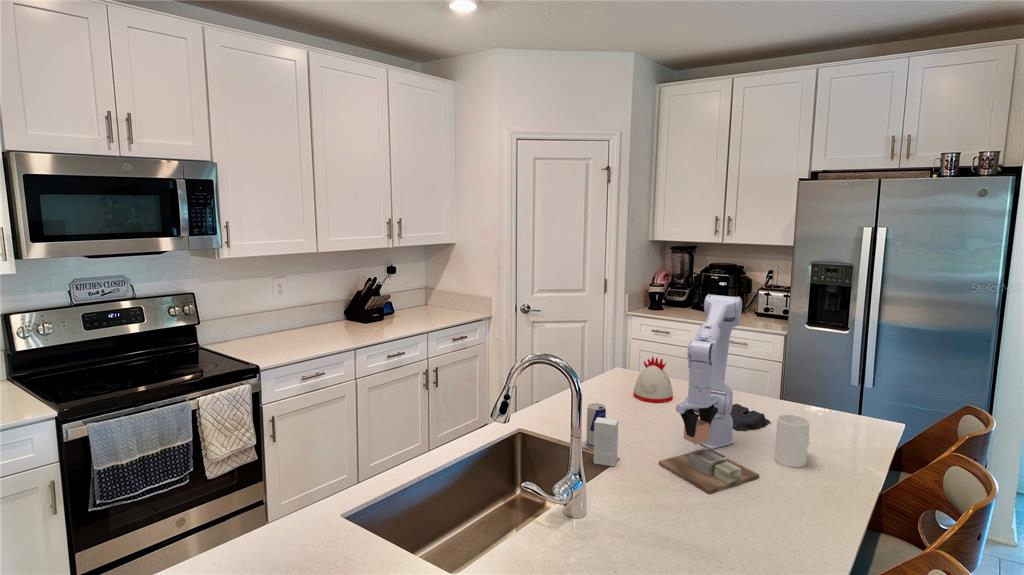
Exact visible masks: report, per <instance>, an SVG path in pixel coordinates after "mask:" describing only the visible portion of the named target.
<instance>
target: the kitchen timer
mask: <svg viewBox="0 0 1024 575" xmlns="http://www.w3.org/2000/svg"><path fill="white" fill-rule="evenodd" d="M663 360H664V359H663V358H661V359H660V361H659V359H658V357H656V358H654V356H651V360H650V359H649V358H648V359H647V363H646V361H645V360H644V361H643V364H644V369H643V370H641V372H640V374H639V375H638V377H637V379H636V383H635V385H634V387H633V388H634V389H633V397H634V398H635V399H637V400H639V401H641V402H643V403H649V404H664V403H669V402H671V401H672V400H673V396H674V394H673V393H674V391H673V387H672V383H671V380H670V377H669V375H668V373H667V372H666V371H665V370H664V368H665V367H666V365H667V362H664V363H663Z"/></svg>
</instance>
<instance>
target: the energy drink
mask: <svg viewBox="0 0 1024 575" xmlns="http://www.w3.org/2000/svg"><path fill="white" fill-rule="evenodd" d="M586 410H587V411H586V446H587V447H588V448H589V447H590V449H593V450H594V422H595V420H596V419H597V417H600V418H606V417H607V414H606V413H607V410H606V406H605V405H604V404H601V403H590V404H588V405H587V409H586Z"/></svg>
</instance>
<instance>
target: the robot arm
mask: <svg viewBox="0 0 1024 575" xmlns="http://www.w3.org/2000/svg"><path fill="white" fill-rule="evenodd" d="M703 306H704V307H703V310H704V312H703V313H704V314H705V316H706V322H704V323H702V324H701V325H700V326H699V329H698V331H697V334H696V336H695V338H694V339H693V341H689V343H688V347H687V367H688V369H689V374H688V389H687V396H685V400H683V401H682V402H680V403H677V404H676V405H675V406H676V407H675V412H677V413H678V414H679V415H680V416H681V419H682V422H683V425H685V429H686V434H687V435H688V436H690V437H694V435H695V428H696V423H697V420H698V419H700V420H703V421H705V422H707V423H709V439H708V441H707V442H704V443H700V445H702V446H704V447H705V448H708V447H709V448H711V449H713V450H715V449H718V448H722V447H725V446H729V445H733V444H734V443H735V441H733V430H734V429H733V420H732V417H731V415H730V413H731V409H732V405H733V396H734V395H733V393H734V392H733V390H732V388H731V387H730V386H729V385H728V384H727V383H726V382H725V380H726V378H725V377H726V369H727V362H728V356H729V349H730V341H731V334H732V332H733V329H734V328H735V327H738V326H739V325H740V322H741V317H742V309H743V300H742V298H741V296H729V295H728V296H727V295H718V294H710V293H708V294H707V295H706V296H705V298H704V303H703ZM695 409H696V410H699V411H698V413H699V414H697V413H695V411H694V410H695Z"/></svg>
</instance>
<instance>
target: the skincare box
mask: <svg viewBox="0 0 1024 575" xmlns="http://www.w3.org/2000/svg"><path fill="white" fill-rule="evenodd" d="M618 436H619V420H618V419H616V418H615V419H614V418H600V417H597V419H596V420H595V422H594V449H593V464H594V465H595V464H596V465H602V466H609V467H616V465H617V462H618V448H619V447H618V442H619V441H618V440H619V437H618Z"/></svg>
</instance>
